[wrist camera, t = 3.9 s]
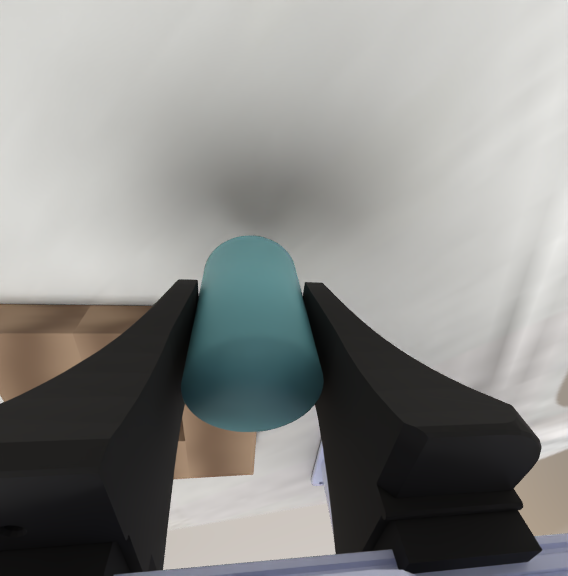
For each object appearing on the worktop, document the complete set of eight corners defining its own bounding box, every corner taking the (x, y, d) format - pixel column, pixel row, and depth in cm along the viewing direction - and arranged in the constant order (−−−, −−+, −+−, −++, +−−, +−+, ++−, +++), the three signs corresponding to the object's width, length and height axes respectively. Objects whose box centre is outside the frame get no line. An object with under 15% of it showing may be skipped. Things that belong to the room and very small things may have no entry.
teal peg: (300, 237, 12) (334, 336, 8) (290, 314, 14) (313, 429, 10) (201, 233, 12) (174, 335, 7) (205, 313, 14) (186, 434, 9)
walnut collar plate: (261, 307, 21) (263, 333, 18) (252, 445, 29) (253, 474, 27) (-4, 304, 19) (-35, 333, 16) (67, 453, 27) (52, 485, 25)
